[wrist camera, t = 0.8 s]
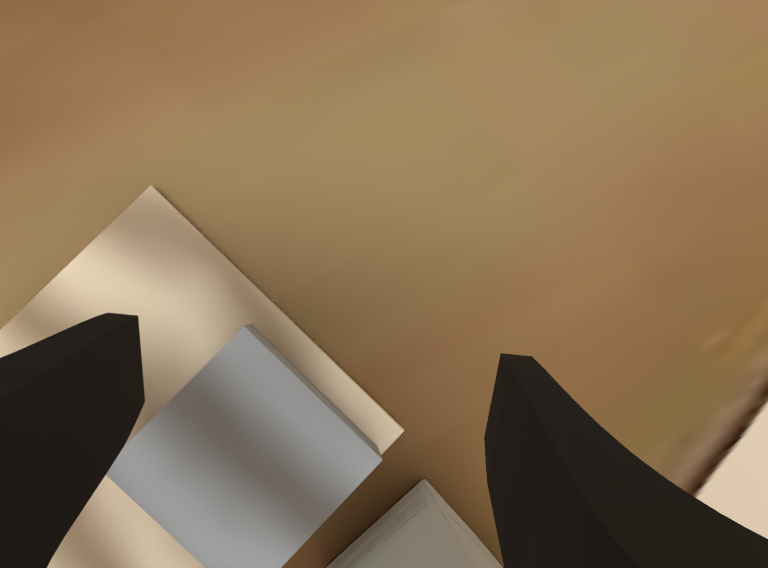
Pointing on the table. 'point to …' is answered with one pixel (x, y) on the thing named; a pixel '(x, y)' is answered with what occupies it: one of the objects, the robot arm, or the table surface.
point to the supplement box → (417, 537)
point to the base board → (169, 353)
